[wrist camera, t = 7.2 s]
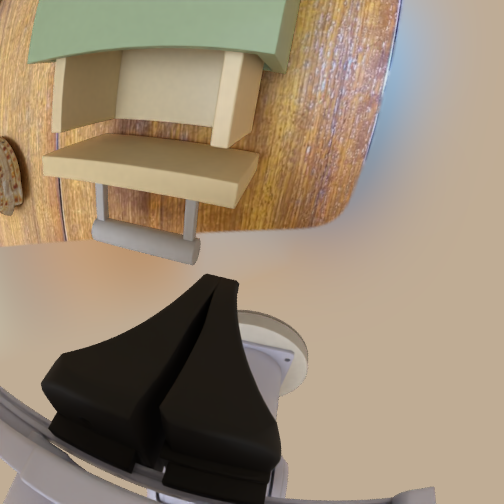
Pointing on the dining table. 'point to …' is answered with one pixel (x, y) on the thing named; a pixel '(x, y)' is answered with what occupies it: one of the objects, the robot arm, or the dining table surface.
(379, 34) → the dining table surface
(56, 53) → the cabinet
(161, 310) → the robot arm
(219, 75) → the drawer
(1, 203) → the seashell
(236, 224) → the dining table surface
